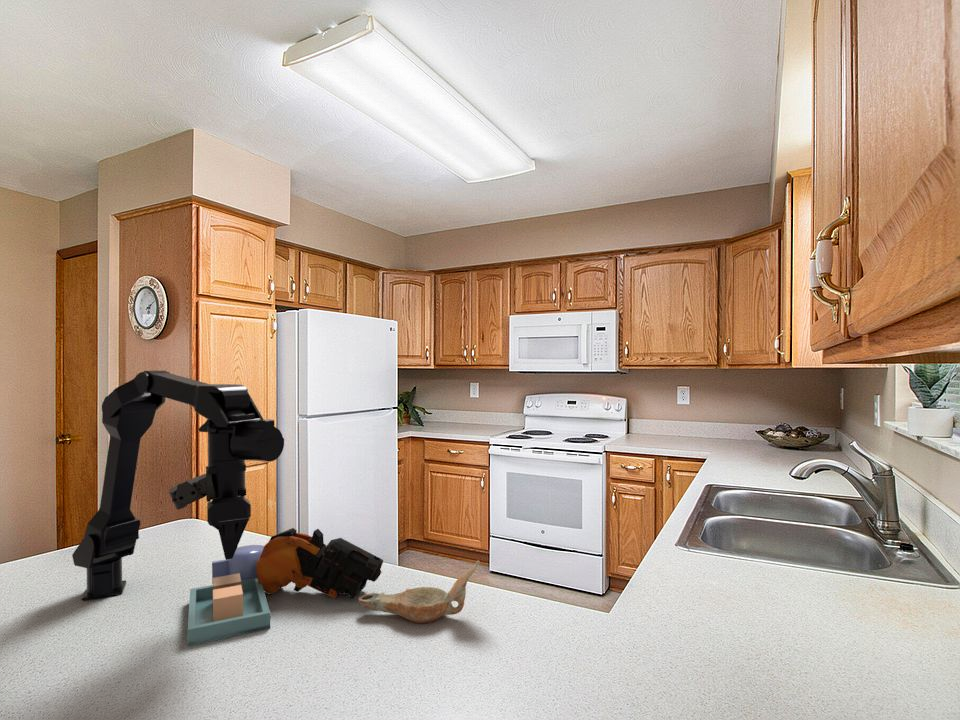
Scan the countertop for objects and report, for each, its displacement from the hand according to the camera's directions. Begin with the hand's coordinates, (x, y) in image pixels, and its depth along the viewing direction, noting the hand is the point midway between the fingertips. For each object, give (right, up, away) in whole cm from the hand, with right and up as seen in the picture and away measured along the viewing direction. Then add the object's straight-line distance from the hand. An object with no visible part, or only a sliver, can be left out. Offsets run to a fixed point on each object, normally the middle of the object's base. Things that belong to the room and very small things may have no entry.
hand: (227, 550), depth 93 cm
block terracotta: (0, -12, 0) cm, 12 cm away
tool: (+13, -12, +11) cm, 20 cm away
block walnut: (-3, -12, +5) cm, 13 cm away
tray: (-1, -12, +3) cm, 12 cm away
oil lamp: (+32, -12, 0) cm, 34 cm away
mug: (-4, -12, +14) cm, 19 cm away
